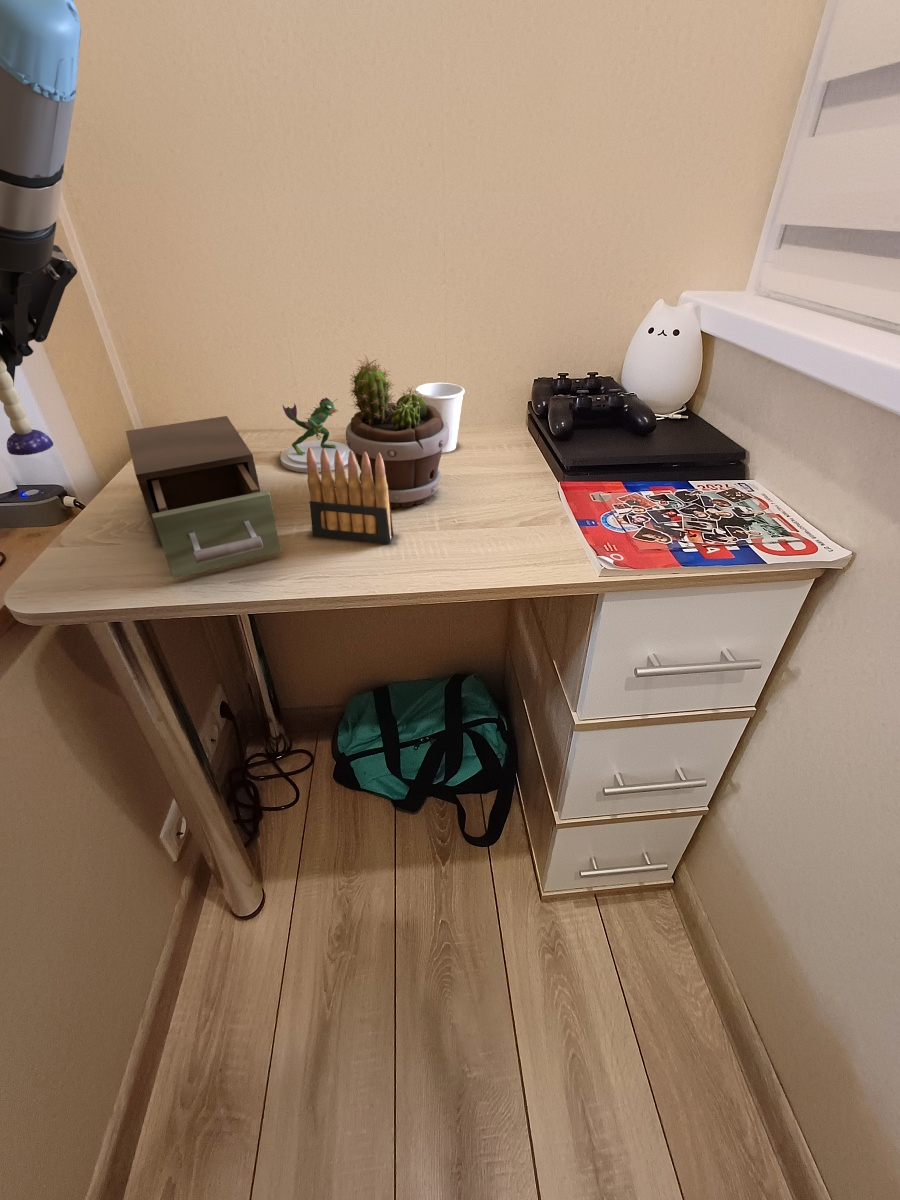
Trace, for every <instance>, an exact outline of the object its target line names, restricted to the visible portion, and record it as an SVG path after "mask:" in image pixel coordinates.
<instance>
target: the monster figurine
mask: <svg viewBox="0 0 900 1200" xmlns="http://www.w3.org/2000/svg"><path fill="white" fill-rule="evenodd" d="M338 399H339V398H337V399H335V401H337V400H338ZM335 401H331V400H330V399H329V398H328V397H324V398H322V399H320V401H319V405H317V404H316V406H317V407H315V406H314V407H313V408H314V410H313V409H311V411H312V413H306V415H307V414H308V415H310V417H309V418H308V417H305V420H307V421H305V420H304V421H302V420H299V419H298V408H297V405H296V403H295V402H294V403H293V407H290V406H287V407H285V405H282V409H283V412H284V414H285V416H286V417H287V418H288V419H289V420H290V421H293V422H295V424H296V425H297V426H299V427H300V428H303V429H304V430H306V431H305V432H304V433H303V434H302V435H300V436H299V437H298V438H297V439H296V440H294V442H292V443H291V446H289V447H287V448H285V449H284V450H283V451H282V452H281V454H280V458H279V459H280V463H281V465H282V466H283V467H284V468H286V469H287V470H290V471H293V472H296V473H306V474H308V471H307V470H308V469H307V450H308V448H309V447H310V448H311V449H312V451H313V454H314V456H315V460H316V464H317V469H318V473H321V465H320V457H321V451H322V449H323V448H324V449H325V451H326V453H327V455H328V458H329V462H330V467H331V472H332V471H335V468H334V457H335V452H336V450H337V449H338V450H339V452H340V454H341V457H342V460H343V464H344V467H346V466H348V456H349V452H350V451H352V450H350V449H349V447H348V445H347V444H346V443H343V442H338V441H332V440H329V437H330V431H329V430H328V429H327V428H326V427H324V425H323V423H324V424H325V422H326V421H327V420H328V417H330V416H331V417H332V416H333V414H335V413H337V412H338V409H336V408H335V404H334V403H335ZM320 434H322V437H321V436H320ZM313 436H315V437H316V439H318V440H311V441H310V440H309V441H305V440H307V439H308V438H311V437H313ZM320 439H321V440H320ZM352 452H353V451H352Z"/></svg>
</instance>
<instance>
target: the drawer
mask: <svg viewBox="0 0 900 1200" xmlns="http://www.w3.org/2000/svg"><path fill="white" fill-rule="evenodd" d="M151 482H152V486H153V490H154V493H155V497H156V501H157V504H158V508H159V511H160V512H158V513H153V514H152V517H153V520H154V523H155V526H156V529H157V532H158V535H159V538H160V541H161V544H162V545H161V546H162V549H163V552H164V556H165V558H166V562H167V564H168V567H169V570H170V573H171V576H172V578H173V579H177V578H181V577H186V576H189V575H193V574H197V573H198V574H199V573H202V572H206V571H210V570H215V569H218V568H222V567H227V566H230V565H234V564H239V563H242V562H246V561H250V560H254V559H258V558H263V557H267V556H271V555H274V554H278V553H279V554H280V553H282V547H281V543H280V542H281V541H280V538H279V532H278V528H277V523H276V518H275V517H276V516H275V513H274V507H273V503H272V497H271V494H270V492H269V491H268V489H267V490H260V492H259V490H258V488H257V486H256V485H255V483H254V481H253V480H252V478H251V476H250V475H249V473H248V472H247V470H246V468H245V467H244V465H243V463H236V464H231V465H225V466H220V467H214V468H209V469H203V470H198V471H192V472H187V473H181V474H176V475H170V476H165V477H159V478H154V479H151Z"/></svg>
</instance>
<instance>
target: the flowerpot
mask: <svg viewBox="0 0 900 1200" xmlns="http://www.w3.org/2000/svg"><path fill="white" fill-rule="evenodd" d="M363 355H364V356H365V361H363V360H360V359H357V361H359V363H360V365H358V367H357V368H355V370H353V371H352V372H353V373H352V374H351V378H350V381H351V382H350V383H349V385H350V387H352V388H350V391H348V392H347V394H349V393H351V395H350V397H352V401H353V402H352V403H353V404H351V405H350V406H353V407H354V408H353V410H357V411H356V413H354V415H353V417H352V416H351V418H350V422H349V423H348V424H347V426H346V428H345V445H347V446H348V447H349V449H350V450H352V452H353V453H354V456H355V459H356V462H357V466H358V467H359V470H360V472H359V473H360V474H359V479H360V482H361V484H362V469H361V465H362V456H363V453H364V452H366V453H367V455H368V457H369V460H370V465H371V472H372V478H373V482H374V487H375V463H376V457H377V454H378V453H380V454H381V456H382V459H383V462H384V467H385V475H386V482H387V485H388V495H389V503H390V508H393V509H397V508H399V507H402V508H408V507H412V506H413V505H421V504H423V503H426V502H428V501H429V500H430V499H431V498H433V496H434V494H435V492H436V491H438V487H439V484H440V480H441V471H440V470H439V465H440V461H441V458H442V449H443V448H444V447H445V446H446V445H447V443H448V440H449V427H448V424H447V422H446V421H445V420H444V419H443V418H442V417H441V415H440V413H439V411H438V410H437V409H436V408H435V407H433V406H431V405H426V404H425V402H424V400H423V397H422V395H421V397H420V396H418V395H417V394H416V393H417V392H418V391H417V392H416V391H415V389H414V390H412V389H413V387H410V386H407V388H408V389H407V390H406V391H404V390H402V391H403V392H402V393H400V395H401V397H399V398H398V399H397V400H395V399H393V400H392V398H393V397H396V395H392V394H393V392H391V393H390V392H389V390H390V389H392V387H393V386H394V384H393V383H392V382H391V381H392V379H389V378H388V377H389V376H391V374H389V372H390V370H388V371H387V369H385V367H383V369H384V370H383V369H381V366H380V363H379V361H378V359H379V358H376V359H374V360H372V361H369V359H368V357H367V355H366V353H363ZM377 361H378V363H377ZM355 372H357V373H355ZM408 392H409V393H408ZM415 392H416V393H415ZM419 393H420V390H419ZM420 394H421V393H420ZM420 394H419V395H420ZM354 399H355V400H354ZM424 399H425V398H424ZM393 401H395V402H393Z"/></svg>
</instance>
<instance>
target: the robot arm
mask: <svg viewBox="0 0 900 1200" xmlns="http://www.w3.org/2000/svg"><path fill="white" fill-rule="evenodd" d="M78 11H79V10H78V8H77V6H76V3H75V1H74V0H0V316H1V319H2V321H0V356H1V357H2V358H3V359H4V361H5V363H6V367H7V370H6V371H7V372H8V373H9V374H10V376H11V377H12V380H13V387H14V385H15V375H16V367H20V366H21V365H22V363H23V362H24V357H25V358H26V357H29V356H31V355H32V354H33V353H34V349H33V348H32V346H30V345H29V343H30V342H31V341H35V342H36V343H44V342H45V341H46V340H47V339H48V336H49V333H50V331H51V328H52V325H53V322H54V321H55V320H54V319H55V318H56V315H57V311H58V309H59V307H60V303H61V301H62V298H63V295H64V293H65V289H66V288H67V286H68V285H69V284H70V283H71V282H72V280H73V279H74V277H75V276H76V275H77V274H78V269H77V268H76V267H75V266H74V263H72V262H71V260H70V259H69V257H68V256H67V255H66V254H65V253H64V251H63V250H62V249H61V247H60V246H59V245H56V244H54V243H55V236H56V229H57V219H58V215H59V212H60V205H61V197H62V190H63V189H62V188H63V181H64V171H65V170H64V167H65V161H66V156H67V150H68V143H69V139H70V138H69V137H70V131H71V124H72V119H73V111H74V106H75V99H76V95H77V82H78V72H79V71H78V69H79V59H80V58H79V57H80V47H81V46H80V45H81V33H82V32H81V31H82V28H81V24H80V23H81V21H80V16H79V15H80V14H79V12H78ZM14 388H15V387H14Z"/></svg>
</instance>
